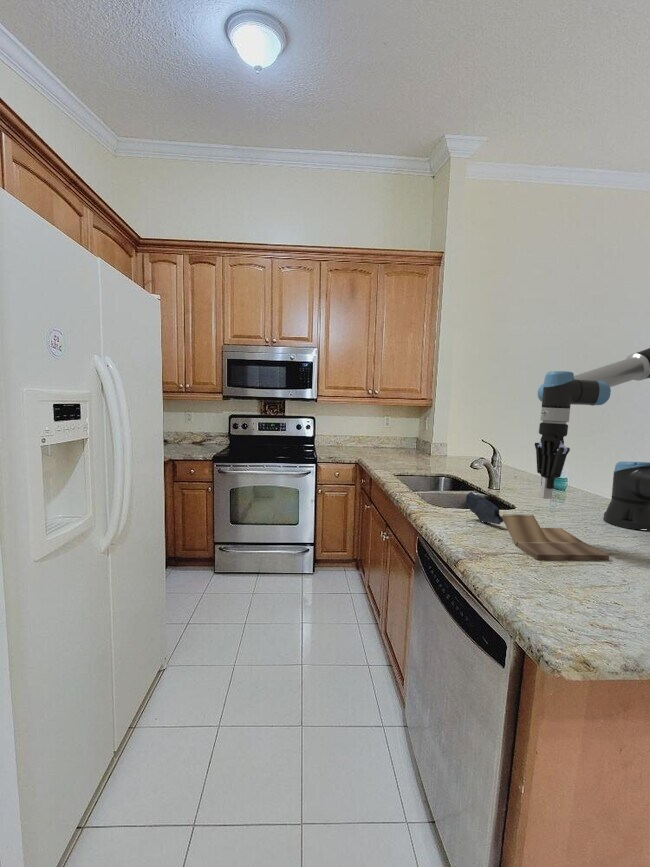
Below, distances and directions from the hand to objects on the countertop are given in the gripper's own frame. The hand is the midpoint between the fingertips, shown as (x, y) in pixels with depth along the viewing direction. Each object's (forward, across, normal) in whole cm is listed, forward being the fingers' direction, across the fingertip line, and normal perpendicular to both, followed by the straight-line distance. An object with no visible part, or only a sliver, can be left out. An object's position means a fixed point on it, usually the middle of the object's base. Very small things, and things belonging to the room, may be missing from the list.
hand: (545, 498), depth 119 cm
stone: (+13, -15, -12) cm, 23 cm away
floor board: (+13, +11, -2) cm, 17 cm away
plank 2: (+13, +1, +4) cm, 13 cm away
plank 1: (+10, +2, -7) cm, 13 cm away
